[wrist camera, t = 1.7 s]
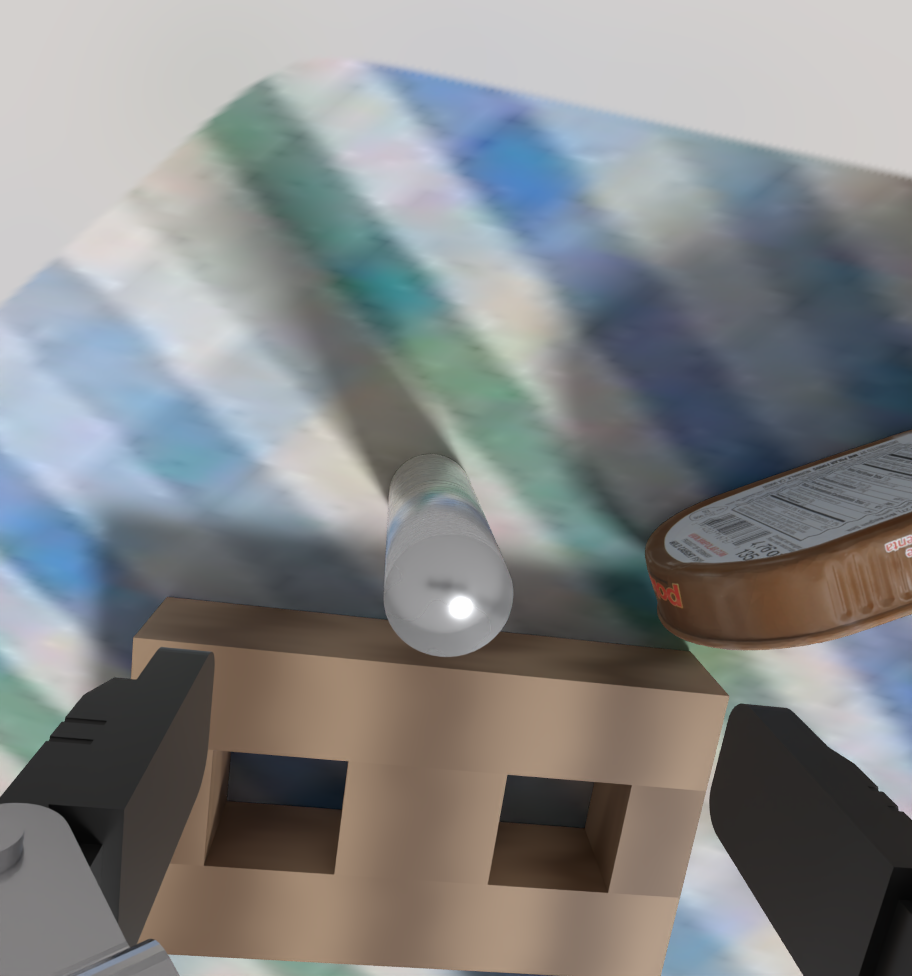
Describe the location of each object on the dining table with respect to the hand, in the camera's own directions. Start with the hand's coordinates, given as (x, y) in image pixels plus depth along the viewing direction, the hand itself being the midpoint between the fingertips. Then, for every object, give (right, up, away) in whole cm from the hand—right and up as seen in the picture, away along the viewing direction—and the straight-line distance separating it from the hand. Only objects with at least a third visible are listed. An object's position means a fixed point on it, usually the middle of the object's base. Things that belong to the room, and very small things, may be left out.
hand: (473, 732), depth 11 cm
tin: (+13, +4, +17) cm, 22 cm away
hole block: (-2, -7, +18) cm, 19 cm away
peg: (-1, +3, +15) cm, 16 cm away
